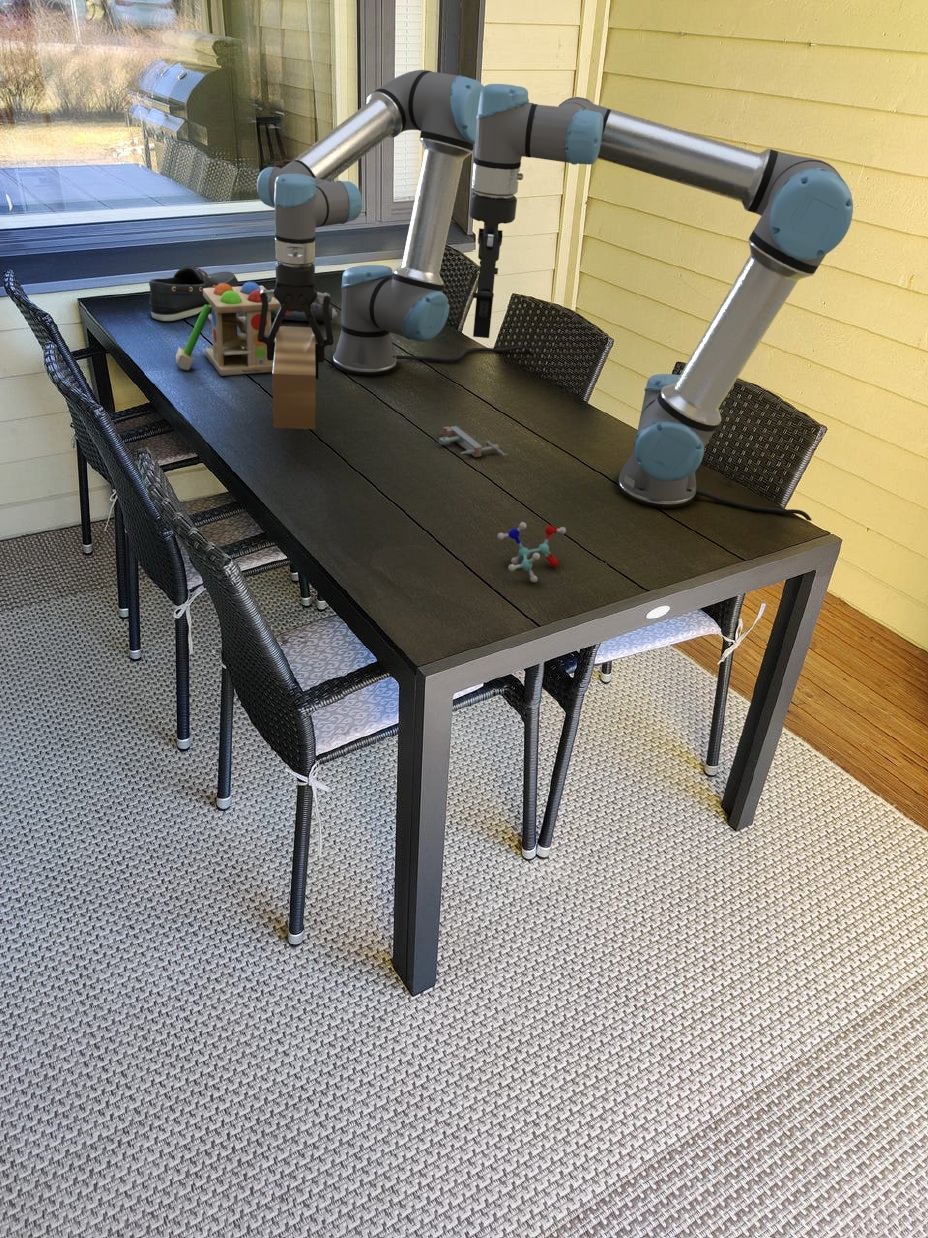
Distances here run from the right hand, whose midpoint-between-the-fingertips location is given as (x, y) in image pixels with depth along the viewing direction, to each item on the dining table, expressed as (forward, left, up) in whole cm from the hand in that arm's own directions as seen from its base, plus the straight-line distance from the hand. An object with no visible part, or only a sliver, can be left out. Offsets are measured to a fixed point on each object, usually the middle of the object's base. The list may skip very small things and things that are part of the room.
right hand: (482, 324), depth 170 cm
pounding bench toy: (+50, -61, -32) cm, 85 cm away
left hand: (+33, -30, -22) cm, 50 cm away
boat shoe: (+61, -105, -32) cm, 125 cm away
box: (+33, -20, -23) cm, 45 cm away
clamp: (-3, -18, -32) cm, 36 cm away
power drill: (+32, -103, -32) cm, 112 cm away
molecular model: (-7, +29, -32) cm, 43 cm away
